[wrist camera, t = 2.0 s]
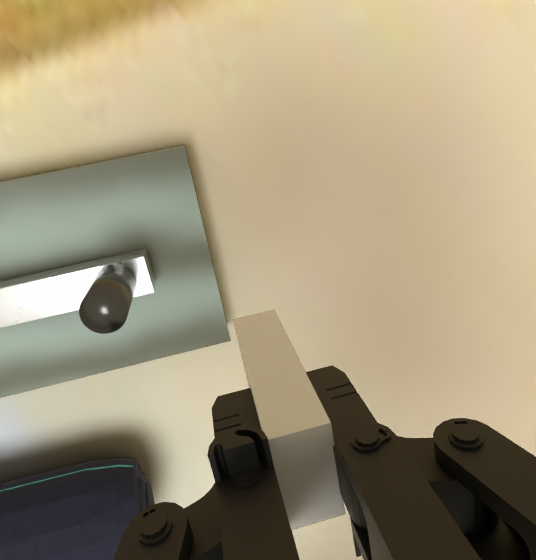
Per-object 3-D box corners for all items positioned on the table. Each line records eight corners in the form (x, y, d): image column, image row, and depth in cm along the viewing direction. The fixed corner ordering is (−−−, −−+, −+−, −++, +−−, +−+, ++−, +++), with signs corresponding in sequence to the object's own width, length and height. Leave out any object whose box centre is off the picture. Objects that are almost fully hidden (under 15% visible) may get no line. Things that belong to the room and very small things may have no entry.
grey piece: (155, 282, 31) (148, 324, 24) (2, 317, 29) (-49, 370, 23) (145, 248, 30) (135, 282, 23) (-12, 283, 29) (-69, 329, 22)
